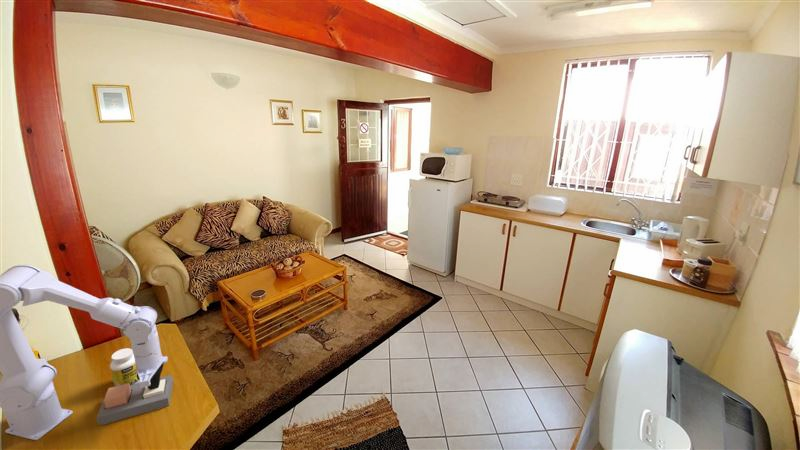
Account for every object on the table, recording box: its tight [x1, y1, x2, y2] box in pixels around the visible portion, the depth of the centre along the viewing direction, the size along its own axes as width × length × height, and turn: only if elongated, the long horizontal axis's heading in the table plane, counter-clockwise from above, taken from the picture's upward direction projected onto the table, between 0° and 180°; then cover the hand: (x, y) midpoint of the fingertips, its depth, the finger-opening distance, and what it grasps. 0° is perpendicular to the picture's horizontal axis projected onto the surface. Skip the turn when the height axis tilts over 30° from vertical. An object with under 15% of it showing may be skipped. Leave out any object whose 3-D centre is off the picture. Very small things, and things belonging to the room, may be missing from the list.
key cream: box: [143, 379, 166, 399], centre depth 89 cm, size 4×4×3 cm
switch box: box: [96, 374, 174, 427], centre depth 87 cm, size 15×9×3 cm, turn 119°
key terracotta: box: [103, 383, 131, 409], centre depth 84 cm, size 4×4×3 cm
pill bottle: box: [109, 347, 140, 387], centre depth 92 cm, size 6×6×11 cm
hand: (154, 387), depth 88 cm, fingers closed, pressing on key cream
